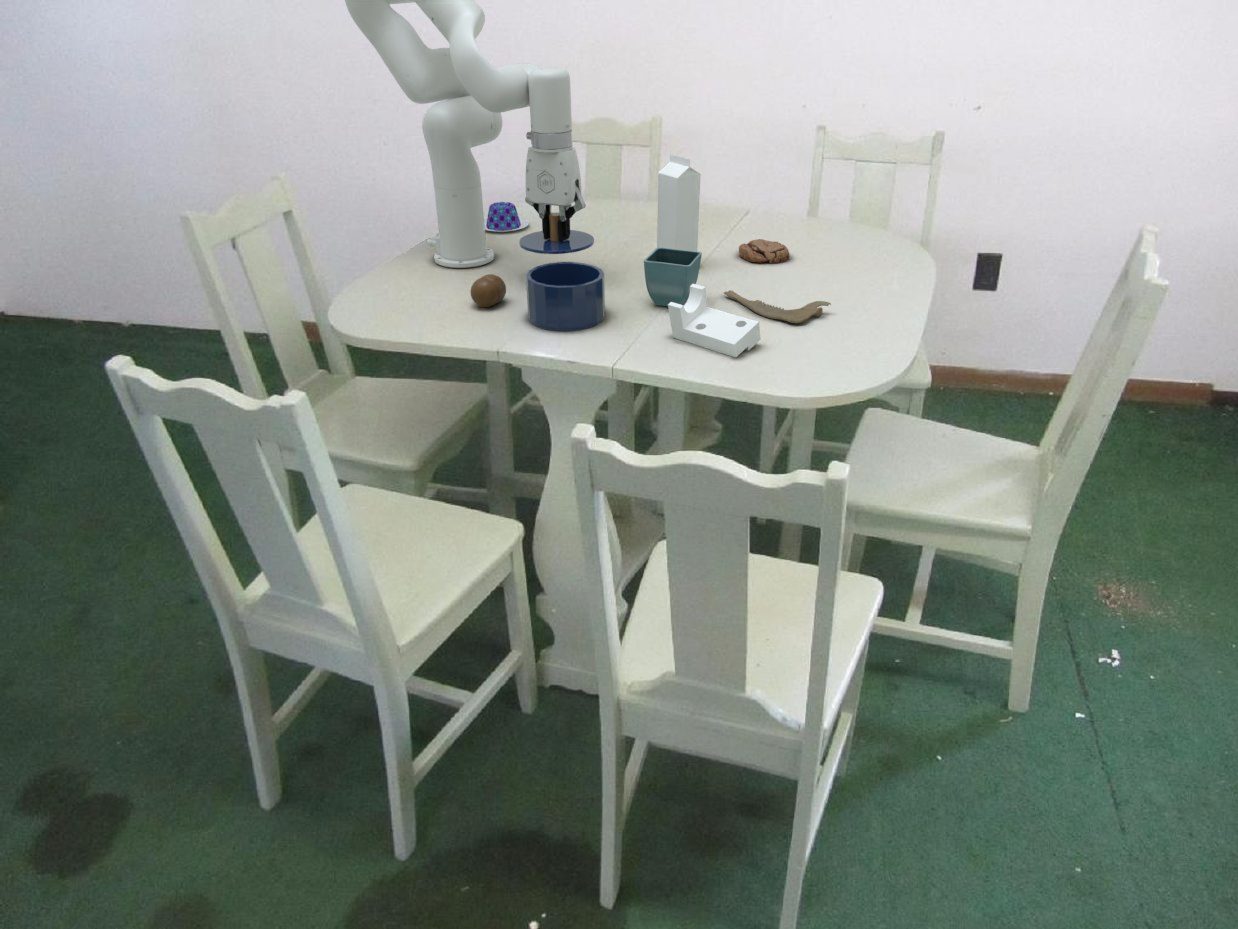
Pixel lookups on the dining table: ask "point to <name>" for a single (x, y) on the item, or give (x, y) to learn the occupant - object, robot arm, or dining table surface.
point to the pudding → (504, 218)
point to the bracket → (711, 325)
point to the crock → (565, 296)
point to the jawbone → (778, 313)
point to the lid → (556, 240)
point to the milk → (678, 205)
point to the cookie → (764, 251)
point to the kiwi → (488, 290)
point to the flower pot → (671, 274)
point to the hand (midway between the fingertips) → (556, 238)
